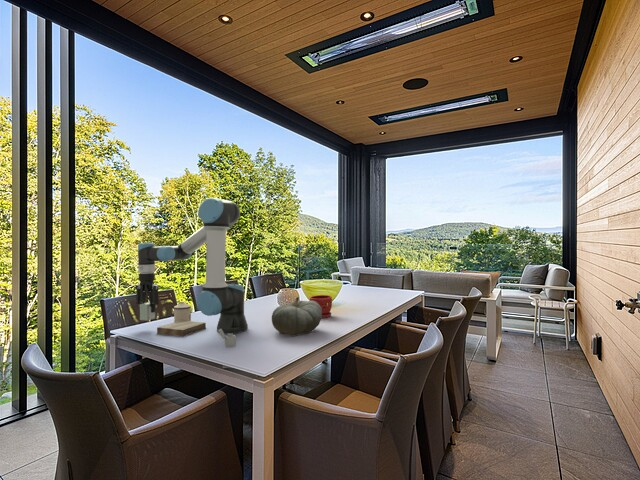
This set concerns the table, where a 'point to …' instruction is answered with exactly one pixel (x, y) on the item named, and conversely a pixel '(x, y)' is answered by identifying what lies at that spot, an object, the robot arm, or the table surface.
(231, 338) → the lighter
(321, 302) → the plant pot
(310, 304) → the gourd
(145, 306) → the sage pillar block
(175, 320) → the teacup with lid
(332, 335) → the table surface
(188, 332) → the walnut base
